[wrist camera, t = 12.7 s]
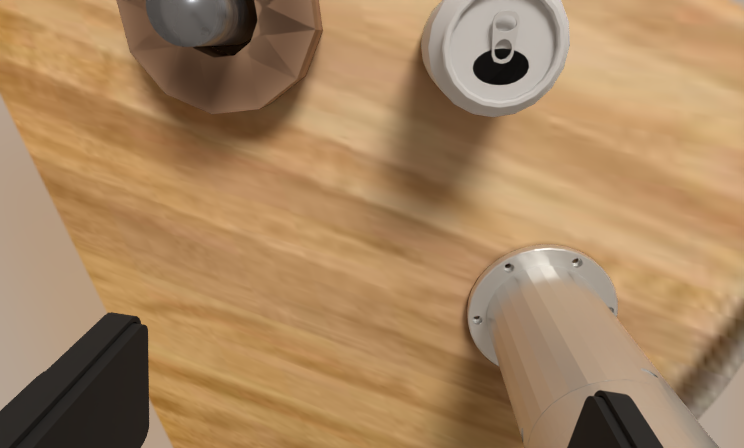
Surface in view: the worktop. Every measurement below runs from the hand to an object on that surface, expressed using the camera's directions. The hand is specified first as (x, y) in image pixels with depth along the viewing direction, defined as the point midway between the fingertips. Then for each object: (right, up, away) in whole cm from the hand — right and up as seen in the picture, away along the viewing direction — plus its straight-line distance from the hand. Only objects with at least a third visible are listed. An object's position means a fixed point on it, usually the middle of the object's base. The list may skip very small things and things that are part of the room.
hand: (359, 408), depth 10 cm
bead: (-10, +19, +26) cm, 34 cm away
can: (+8, +17, +26) cm, 32 cm away
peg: (-10, +19, +26) cm, 34 cm away
